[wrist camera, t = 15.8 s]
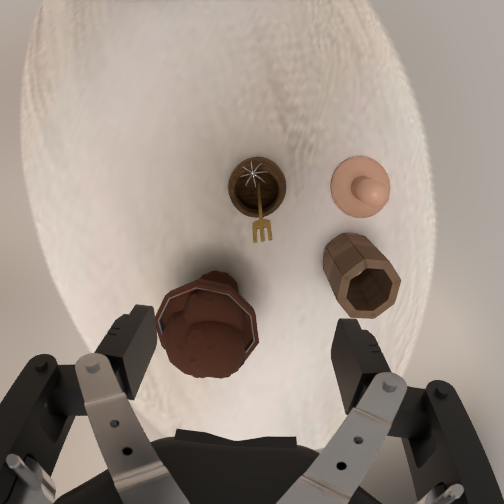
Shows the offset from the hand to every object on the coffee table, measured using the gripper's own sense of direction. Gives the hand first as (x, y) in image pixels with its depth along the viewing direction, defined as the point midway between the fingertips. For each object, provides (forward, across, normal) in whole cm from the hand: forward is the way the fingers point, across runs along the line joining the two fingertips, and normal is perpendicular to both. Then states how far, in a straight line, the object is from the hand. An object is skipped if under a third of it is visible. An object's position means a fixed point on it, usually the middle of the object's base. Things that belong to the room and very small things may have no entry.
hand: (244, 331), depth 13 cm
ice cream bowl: (+25, +4, +12) cm, 27 cm away
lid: (+25, -12, -3) cm, 28 cm away
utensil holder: (+25, 0, -2) cm, 25 cm away
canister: (+24, -12, +6) cm, 28 cm away
